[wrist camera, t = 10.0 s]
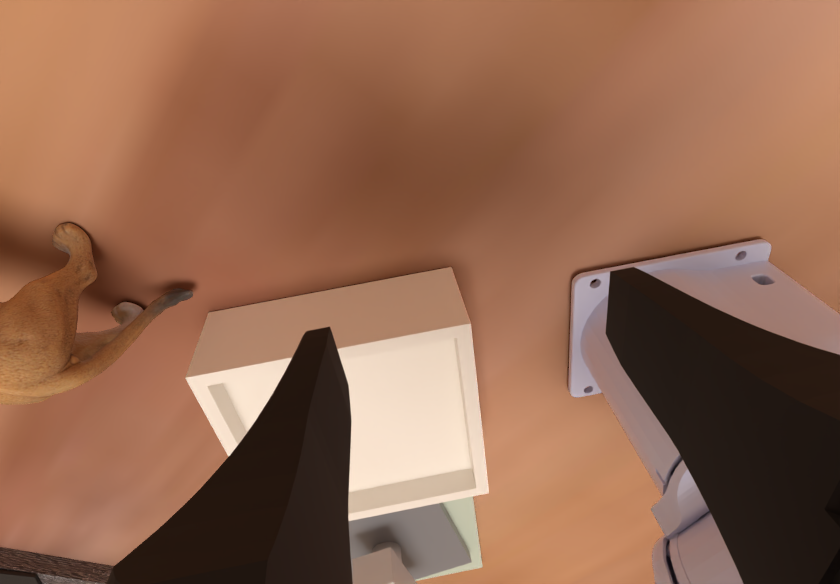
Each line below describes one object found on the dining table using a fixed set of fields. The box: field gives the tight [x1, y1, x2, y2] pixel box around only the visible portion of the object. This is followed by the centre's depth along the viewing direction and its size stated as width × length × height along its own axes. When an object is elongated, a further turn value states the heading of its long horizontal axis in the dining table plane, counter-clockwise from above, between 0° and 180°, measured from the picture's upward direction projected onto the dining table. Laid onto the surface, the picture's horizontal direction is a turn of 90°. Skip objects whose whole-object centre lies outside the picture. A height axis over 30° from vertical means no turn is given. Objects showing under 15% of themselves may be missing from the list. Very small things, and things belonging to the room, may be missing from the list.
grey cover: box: [349, 503, 472, 584], centre depth 32 cm, size 9×9×4 cm
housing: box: [185, 267, 489, 521], centre depth 25 cm, size 11×11×4 cm
